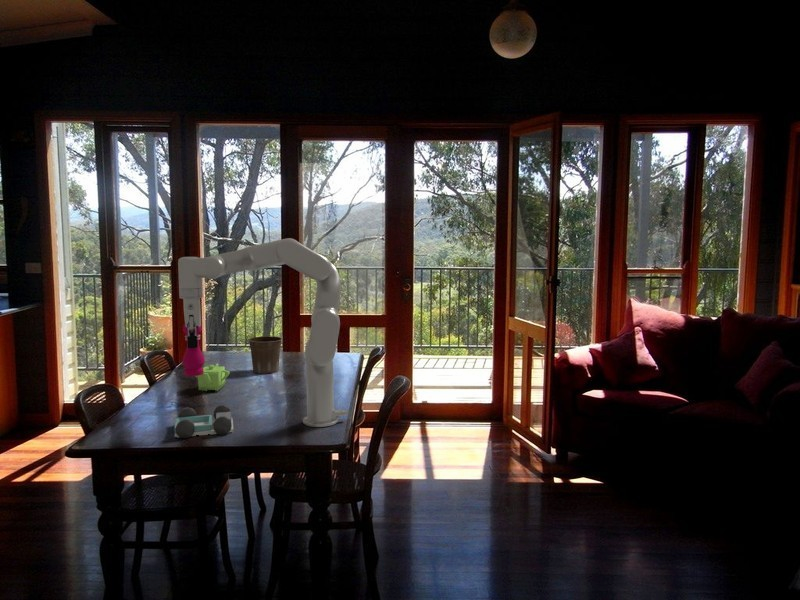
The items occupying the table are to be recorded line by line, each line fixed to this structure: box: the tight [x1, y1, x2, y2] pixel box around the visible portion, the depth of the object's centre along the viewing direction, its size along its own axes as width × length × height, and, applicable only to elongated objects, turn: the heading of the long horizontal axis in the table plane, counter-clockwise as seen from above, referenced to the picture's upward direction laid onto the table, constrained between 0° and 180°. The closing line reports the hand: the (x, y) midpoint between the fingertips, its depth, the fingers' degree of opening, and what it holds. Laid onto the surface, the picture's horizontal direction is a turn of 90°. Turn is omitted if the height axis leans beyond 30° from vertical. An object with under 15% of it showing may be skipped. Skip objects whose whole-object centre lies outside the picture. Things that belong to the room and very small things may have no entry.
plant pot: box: [247, 335, 283, 375], centre depth 306 cm, size 16×16×16 cm
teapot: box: [194, 363, 231, 392], centre depth 273 cm, size 15×13×11 cm
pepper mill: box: [182, 317, 205, 377], centre depth 215 cm, size 7×7×20 cm
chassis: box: [174, 404, 234, 439], centre depth 219 cm, size 19×16×6 cm
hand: (193, 345), depth 215 cm, fingers closed on pepper mill, 5 cm apart
